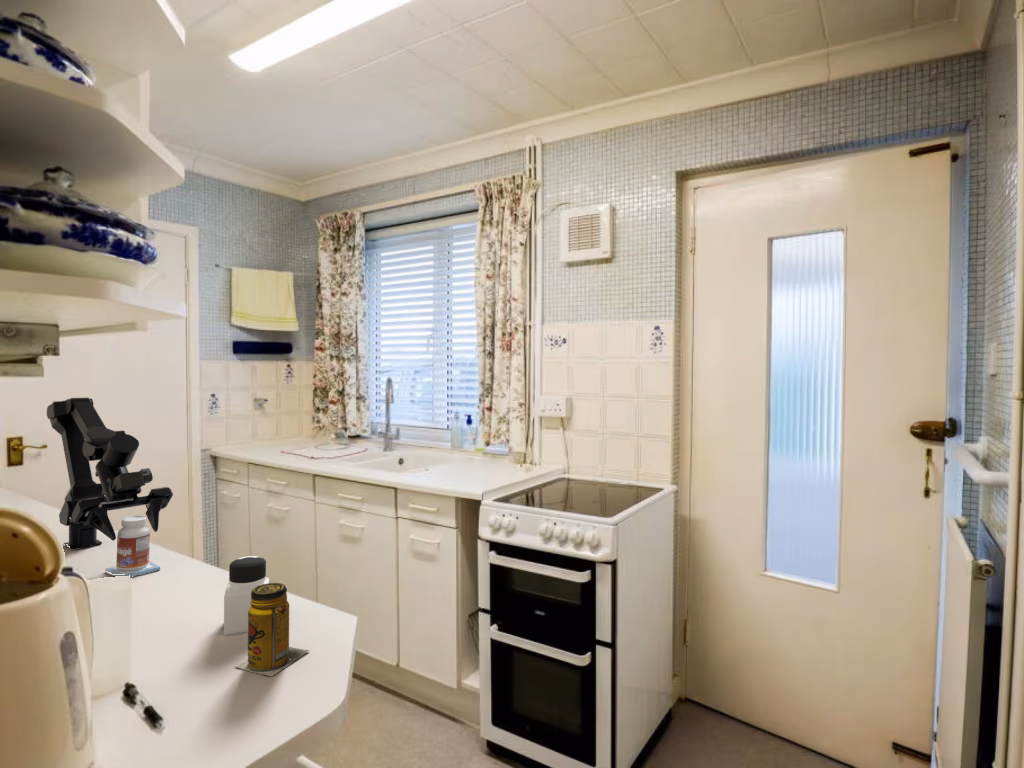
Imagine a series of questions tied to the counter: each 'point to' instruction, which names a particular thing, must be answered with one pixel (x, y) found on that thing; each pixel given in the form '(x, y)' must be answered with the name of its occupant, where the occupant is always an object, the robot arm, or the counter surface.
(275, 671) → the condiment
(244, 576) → the medicine bottle
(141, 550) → the pill bottle
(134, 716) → the counter surface
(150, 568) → the coaster
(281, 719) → the counter surface
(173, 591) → the counter surface
